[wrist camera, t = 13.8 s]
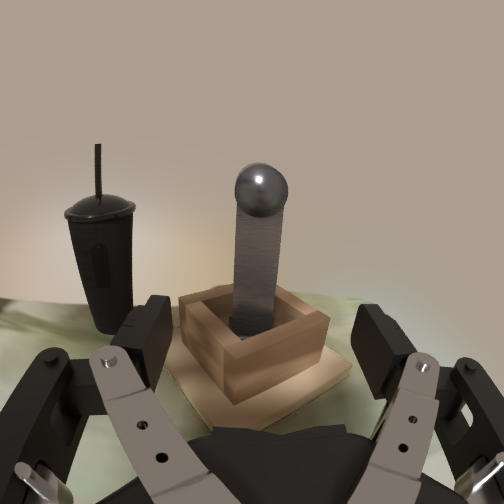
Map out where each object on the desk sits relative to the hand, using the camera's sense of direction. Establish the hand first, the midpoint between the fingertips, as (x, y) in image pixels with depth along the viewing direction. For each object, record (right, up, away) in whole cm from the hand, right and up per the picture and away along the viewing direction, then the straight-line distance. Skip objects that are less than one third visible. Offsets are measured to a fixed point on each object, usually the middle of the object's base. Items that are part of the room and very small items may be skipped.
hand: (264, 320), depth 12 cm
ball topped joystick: (-1, -7, +14) cm, 16 cm away
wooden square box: (-1, -8, +15) cm, 17 cm away
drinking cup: (-17, -6, +19) cm, 26 cm away
